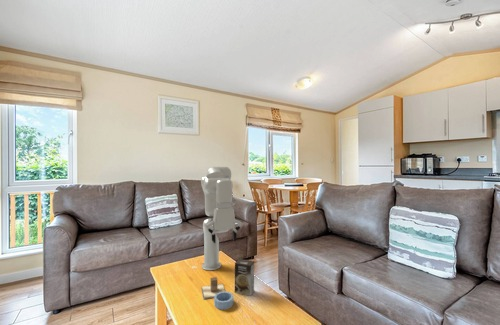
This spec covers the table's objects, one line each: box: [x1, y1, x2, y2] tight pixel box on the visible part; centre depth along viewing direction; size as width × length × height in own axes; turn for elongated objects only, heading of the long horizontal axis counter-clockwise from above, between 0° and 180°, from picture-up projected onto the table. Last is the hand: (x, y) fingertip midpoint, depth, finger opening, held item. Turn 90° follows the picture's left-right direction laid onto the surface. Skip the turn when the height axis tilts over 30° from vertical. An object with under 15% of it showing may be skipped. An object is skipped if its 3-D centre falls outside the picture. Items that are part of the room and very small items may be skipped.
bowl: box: [213, 290, 234, 311], centre depth 114 cm, size 9×9×4 cm
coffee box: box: [234, 258, 255, 296], centre depth 125 cm, size 9×6×16 cm
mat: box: [201, 284, 227, 301], centre depth 124 cm, size 12×12×1 cm
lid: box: [201, 276, 226, 300], centre depth 124 cm, size 11×11×7 cm
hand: (224, 241), depth 113 cm, fingers open, 9 cm apart
